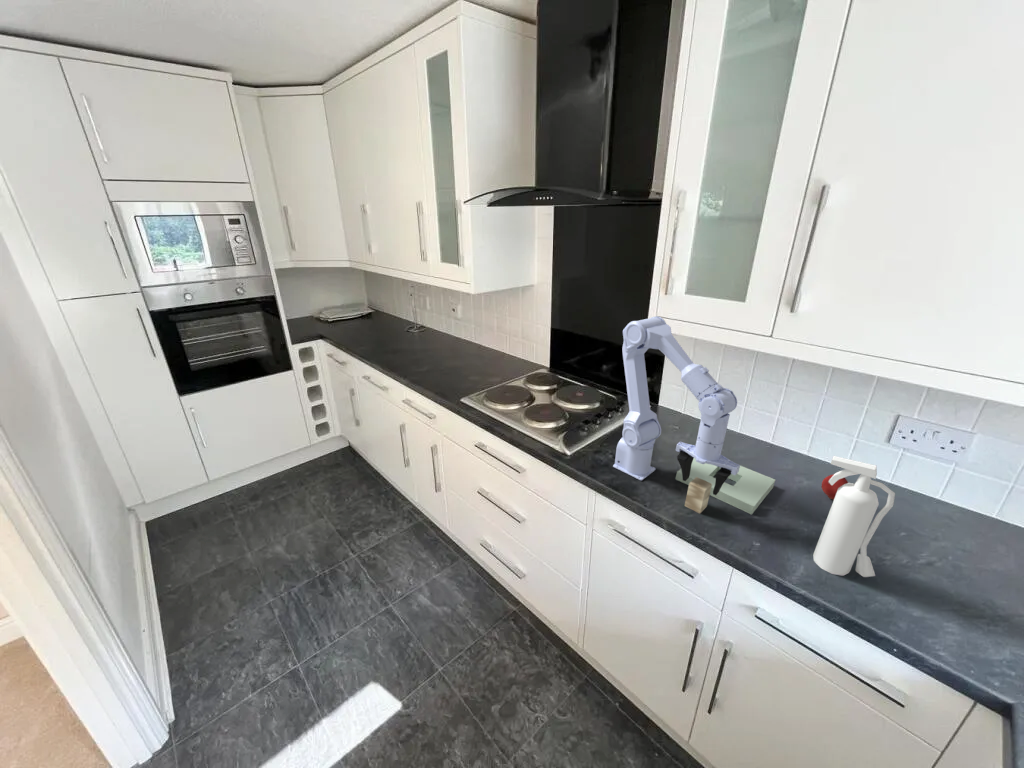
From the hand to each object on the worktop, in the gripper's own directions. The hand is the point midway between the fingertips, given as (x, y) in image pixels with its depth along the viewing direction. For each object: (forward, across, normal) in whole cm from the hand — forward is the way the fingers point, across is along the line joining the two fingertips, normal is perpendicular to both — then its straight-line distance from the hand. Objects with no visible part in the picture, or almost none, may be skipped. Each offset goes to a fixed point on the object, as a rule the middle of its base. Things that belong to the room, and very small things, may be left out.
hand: (700, 485), depth 105 cm
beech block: (+6, 0, 0) cm, 6 cm away
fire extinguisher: (+7, +29, +3) cm, 30 cm away
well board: (+6, +1, +15) cm, 16 cm away
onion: (+7, +23, +29) cm, 38 cm away
